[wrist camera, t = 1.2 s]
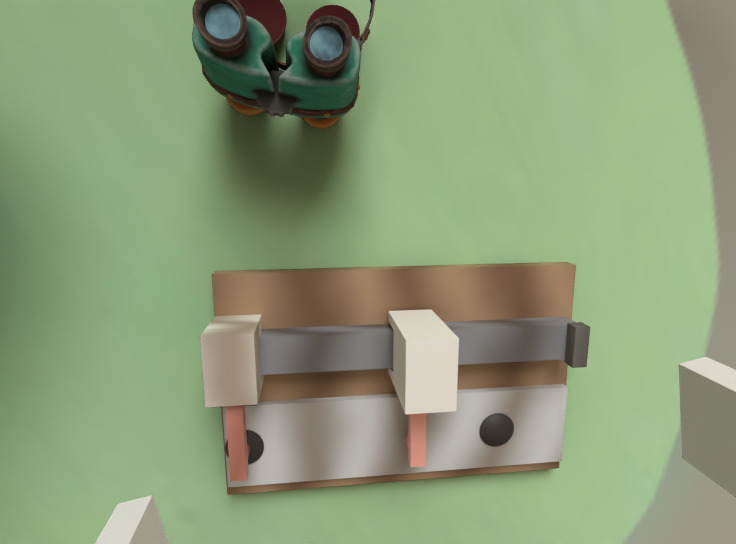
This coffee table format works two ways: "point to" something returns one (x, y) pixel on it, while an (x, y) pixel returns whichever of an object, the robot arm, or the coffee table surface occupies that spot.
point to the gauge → (370, 372)
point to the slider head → (423, 372)
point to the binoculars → (261, 67)
